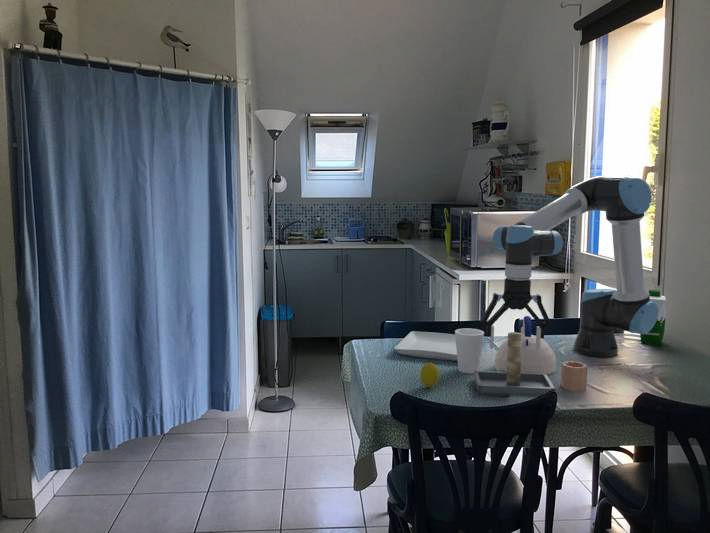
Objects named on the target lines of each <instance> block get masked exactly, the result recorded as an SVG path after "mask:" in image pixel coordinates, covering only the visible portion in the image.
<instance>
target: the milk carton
mask: <svg viewBox="0 0 710 533" xmlns="http://www.w3.org/2000/svg"><path fill="white" fill-rule="evenodd" d="M648 292H649V295H650V301H652V302H654V303H656V305H657V306H658V318H657V321H656V323H655V324H654V326H653V328H652V329H651V330H650V331H649V332H647V333H645V334H639V336H640V344H642V345H643V344H644V345H653V346H662V345H663V344H662V342H663V338H664V335H665V328H666V316H667V299H666V296H665V295H661V291H660V290H658V289H649V290H648Z"/></svg>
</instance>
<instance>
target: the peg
mask: <svg viewBox="0 0 710 533" xmlns="http://www.w3.org/2000/svg"><path fill="white" fill-rule="evenodd" d="M507 339H508V349H507V382H506V386H520V373H521V342H522V334H521V332H518V331H517V332H516V331H515V332H514V331H513V332H512V331H511V332H508V333H507Z"/></svg>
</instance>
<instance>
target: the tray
mask: <svg viewBox="0 0 710 533" xmlns="http://www.w3.org/2000/svg"><path fill="white" fill-rule="evenodd" d="M473 382H474V386H475V390H476V394H477V396H484V397H508V398H511V395H510V394H512V395H529V396H530V395H533V396H535V395H536V396H543V395H542V394H544V393H546V392H548V391H555V392H556V387H555V386H554V384H553V382H552V381H551V379H550V378H549V376H548V374H544V373H520V386H506V382H507V372H506V371H500V372H499V371H491V370H490V371H489V370H488V371H487V370H478V371H474V373H473Z"/></svg>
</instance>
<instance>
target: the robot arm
mask: <svg viewBox="0 0 710 533" xmlns="http://www.w3.org/2000/svg"><path fill="white" fill-rule="evenodd" d="M651 191H652V190H651V188H650V185H649V184H648V183H647V181H645V180H644V179H643V178H641V177H638V176H631V175H622V176H621V175H617V176H616V175H615V176H613V175H612V176H610V175H608V176H605V175H598V176H595V177H591V178H588V179H585V180H583V181H582V182H579V183H577V184H575V185H573V186H571V187H570V188H568V189H566V190H565V192H564V193H563V195H561V197H558V198H557V199H555V200H553V201H552V202H550V203H548V204H547V205H545V206H544V207H541V208H540V209H538V210H536V211H534V212H533V213H531V214H529V215H527V216H526V217H524V218H523V219H521V220H520V221H518V222H516V223H514V224H512V225H509V226H507V225H505V226H499V227H497V228H495V230H494V232H493V234H492V242H493V245H494V247H495V248H496V249H498V250H502V251H505V266H504V276H505V278H504V287H503V288H504V289H503V294H501V293H496V292H493V294H492V299H491V301H490V303H489V305H488V307H487V308H486V310H485V312H484V313H483V316H482V317H481V319H480V322H481V324H482V325H484V326H486V336H487V338H489V348H490V349H494V342H495V340H494V336H495V326H494V324H495V323H496V322H497V321H498V320H499V318H501V316H502V315H503V314H504V313H505V312H506V311H508V310H509V309H510V310H513V311H515V310H520V311H521V310H524V309H525V310H526V311H527V312H528V313H529V314H530V315H531V316H530V317H532V318H533V319H534V320H535V322H536V323H537V324H538V325H539V326H536V333H535V334H536V335H535V336H536V349H537V350H540V339H542V340H543V339H545V331H546V330H545V329H546V328H548V327H551V326H552V322H551V320H550V317H549V316H548V314H547V311H546V308H545V307H544V305H543V302H542V301H543V300H542V296H541V295H540V294H539V293H536V294H533V295H532V294H531V285H532V281H531V279H530V278H532V264H533V257H546V256H547V257H550V256H554V255H557V254H559V253H560V252H561V251H562V248H563V245H564V239H563V236H562V235H561V233H560V232H558V231H556V230H552V229H554V228H555V227H557V226H559V225H561V224H562V223H564V222H566V221H568V220H570V218H572V217H574V216H580V215H583V214H585V213H586V212H591V211H593V212H594V211H601V212H605V217H606V218H605V219H606V220H607V222H609V223H610V224H611V231H612V232H611V233H612V244H613V246H612V247H613V257H614V258H613V259H614V269H615V270H614V271H615V272H614V273H615V281H616V282H615V284H616V285H615V286H616V289H615V288H614V289H613V288H596V289H595V288H593V289H587V290H584V291H583V292H582V294H581V301H580V316H579V317H580V320H579V321H580V322H579V330H578V333H577V336H576V337H575V340H574V342H573V351H574V352H575V353H578V354H580V355H582V356H586V357H587V356H588V357H594V358H595V357H597V358H611V357H612V358H613V357H615V356H617V355H618V352H619V347H618V343H617V339H616V336H615V333H614V332H615V330H621V331H624V332H628V333H631V334H639V335H640V334H645V333H647V332H649V331H650V330H651V329H652V328H653V326H654V324H655V323H656V321H657V318H658V306H657V305H656V303H654V302H652V301H650V295H649V290H647V289H646V288H645V283H644V282H645V280H644V270H643V269H644V267H643V254H642V253H643V252H642V237H641V223H640V222H641V220H642V219H643V218H644V217H645V213H646V212H647V211H648V210H649V209H650V206H651V203H652V192H651ZM501 300H503V302H504V303H502V305H501V306H500V307H499V309H498V310H496V311H495V312H494V314H493V315H492V316H491V314H492V312H493V311H494V309H495V307H496V306H497V303H498V302H500V301H501ZM532 301H533V302H534V303H536V305H537V307H538V309H539V311H540V314H541V316H542V319H543V320H544V321H542V320H541V319H540V317H539V316H538V314H536V313H535V312H534V310H533V308H531V306H530V305H529V304H530V302H532Z"/></svg>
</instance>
